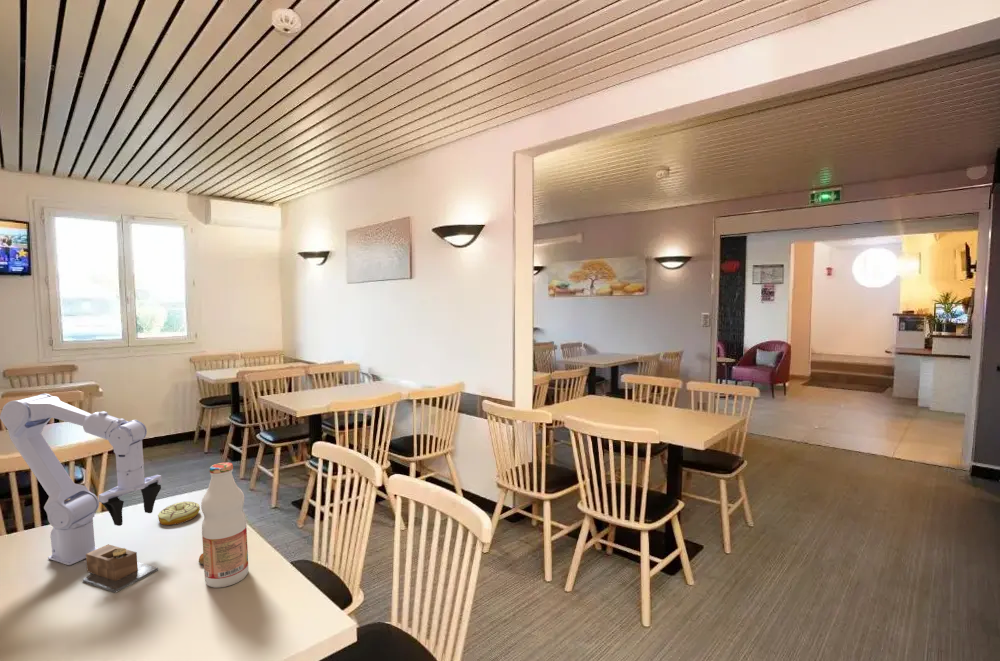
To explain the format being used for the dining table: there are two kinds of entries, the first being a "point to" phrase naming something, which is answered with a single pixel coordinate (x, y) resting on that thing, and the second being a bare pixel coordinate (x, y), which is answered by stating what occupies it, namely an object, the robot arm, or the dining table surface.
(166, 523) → the decorated donut
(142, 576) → the hook plate
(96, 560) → the block
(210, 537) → the fruit juice
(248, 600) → the dining table surface
